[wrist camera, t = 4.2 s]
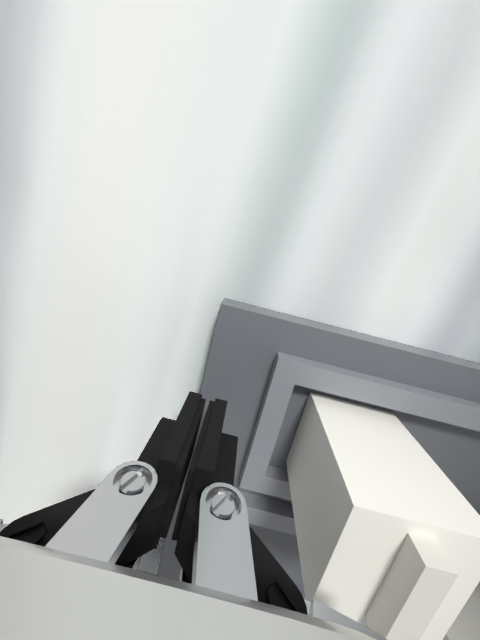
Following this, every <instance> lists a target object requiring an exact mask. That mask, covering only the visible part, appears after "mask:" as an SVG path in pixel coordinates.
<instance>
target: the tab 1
mask: <svg viewBox="0 0 480 640" xmlns="http://www.w3.org/2000/svg"><path fill="white" fill-rule="evenodd" d="M286 465H287V472H288V479H289V486H290V493H291V500H292V507H293V514H294V521H295V528H296V536H297V543H298V550H299V557H300V564H301V571H302V578H303V585H304V592H305V599H306V600H307V601H309V602H312V600H313V599H315V600H317V601H319V602H321V603H323V604H325V605H326V606H328V607H330V608H332V609H334V610H336V611H338V612H339V613H341V614H343V615H345V616H347V617H349V618H351V619H352V620H354V621H356V622H358V623H360V624H362V625H364V626H367V627H368V628H369V629H371V630H373V631H375V632H377V633H378V634H380V635H382V636H383V637H385V638H386V639H387V640H442V639H443V638H444V636H445V635H446V633H447V632H448V630H449V628H450V627H451V625H452V624H453V622H454V621H455V619H456V617H457V616H458V614H459V613H460V611H461V610H462V608H463V607H464V605H465V603H466V602H467V600H468V599H469V597H470V596H471V594H472V593H473V591H474V589H475V588H476V586H477V585H478V583H479V582H480V515H479V514H478V513H477V512H476V510H475V509H474V508H473V507H472V506H471V504H470V503H469V502H468V501H467V500H466V499H465V497H464V496H463V495H462V494H461V493H460V491H459V490H458V489H457V488H456V487H455V486H454V484H453V483H452V482H451V481H450V480H449V478H448V477H447V476H446V475H445V474H444V473H443V471H442V470H441V469H440V468H439V467H438V465H437V464H436V463H435V462H434V461H433V460H432V458H431V457H430V456H429V455H428V454H427V452H426V451H425V450H424V449H423V448H422V447H421V445H420V444H419V443H418V442H417V441H416V439H415V438H414V437H413V436H412V435H411V434H410V432H409V431H408V430H407V429H406V428H405V426H404V425H403V424H402V423H401V422H400V421H399V419H398V418H397V417H396V416H395V415H394V413H392V412H388V411H384V410H380V409H376V408H372V407H368V406H364V405H360V404H356V403H352V402H348V401H344V400H340V399H337V398H333V397H329V396H325V395H321V394H317V393H313V392H310V394H309V397H308V400H307V402H306V405H305V408H304V411H303V414H302V417H301V420H300V423H299V426H298V428H297V431H296V434H295V437H294V440H293V443H292V446H291V449H290V452H289V454H288V457H287V460H286Z"/></svg>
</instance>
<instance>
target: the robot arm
mask: <svg viewBox="0 0 480 640" xmlns="http://www.w3.org/2000/svg"><path fill="white" fill-rule="evenodd" d="M205 402H206V399H204V398H202V394H198V393H194V392H189V395H188V397H187V399H186V401H185V403H184V405H183V407H182V409H181V411H180V414H179V416H178V418H177V420H176V421H175V420H171V419H168V418H164V417H163V418H162V419H161V420H160V422H159V423H158V425H157V427H156V429H155V431H154V432H153V434H152V436H151V438H150V439H149V441H148V443H147V445H146V446H145V448H144V450H143V452H142V453H141V455H140V457H139V459H138V460H137V461H130V462H125V463H123V464H121V465H119V466H117V467H116V468H115V469H114V470H113V471H112V472H111V473H110V474H109V475H108V476H107V477H106V478H105V479H104V481H103V482H102V483H101V484H100V485H99V486H98V487H97V488H96V489H94V490H91V491H89V492H86V493H83V494H81V495H78V496H76V497H73V498H70V499H68V500H65V501H62V502H60V503H57V504H54V505H52V506H49V507H46V508H44V509H41V510H39V511H36V512H33V513H31V514H28V515H25V516H23V517H21V518H19V519H17V520H15V521H13V522H12V523H10V524H3V519H0V640H387V639H386V638H385V637H383V636H382V635H380V634H378V633H377V632H375V631H373V630H371V629H369V628H367V627H365V626H364V625H362V624H360V623H358V622H356V621H354V620H352V619H351V618H349V617H347V616H345V615H343V614H341V613H339V612H338V611H336V610H334V609H332V608H330V607H328V606H326V605H325V604H323V603H321V602H319V601H317V600H315V599H313V600H312V602H309V601H307V600H305V599H304V598H303V595H302V594H301V592H300V590H299V589H298V587H297V586H296V584H295V583H294V582H293V581H292V579H291V578H290V577H289V575H288V574H287V573H286V572H285V570H284V569H283V568H282V566H281V565H280V564H279V563H278V561H277V560H276V559H275V558H274V556H273V555H272V554H271V552H270V551H269V550H268V549H267V547H266V546H265V545H264V544H263V542H262V541H261V540H260V538H259V537H258V536H257V535H256V533H255V532H254V531H253V529H252V528H251V527H250V526H249V522H248V514H247V506H246V502H245V498H244V497H243V495H242V494H241V492H240V491H239V490H238V489H237V488H235V487H234V476H235V465H236V455H237V445H238V437H237V436H233V435H230V434H226V433H222V428H223V423H224V418H225V413H226V407H227V402H228V401H225V400H221V399H217V398H216V399H215V401H211V400H210V402H209V405H208V408H207V411H206V414H205V418H204V421H203V424H202V427H201V430H200V434H199V437H198V440H197V443H196V446H195V442H196V438H197V434H198V430H199V426H200V422H201V418H202V414H203V410H204V406H205ZM194 446H195V450H194ZM193 450H194V453H193ZM192 454H193V456H192ZM191 458H192V459H191ZM190 461H191V463H190ZM189 464H190V466H189ZM188 467H189V470H188ZM187 471H188V474H187ZM186 474H187V478H186V482H185V486H184V490H183V494H182V498H181V502H180V506H179V510H178V514H177V518H176V522H175V526H174V530H173V534H172V538H171V540H175V541H177V544H176V548H175V552H174V554H175V556H176V558H177V560H178V562H179V564H180V566H181V567H182V569H181V573H180V578H179V581H178V580H174V579H170V578H167V577H163V576H159V575H155V574H151V573H147V572H143V571H139V570H136V568H137V567H138V564H139V562H140V559H141V556H142V555H144V554H145V553H147V552H149V551H150V550H152V549H154V548H155V549H156V548H157V545H158V542H159V539H160V537H163V538H166V537H167V534H168V531H169V528H170V525H171V521H172V518H173V515H174V512H175V509H176V506H177V502H178V499H179V496H180V493H181V490H182V486H183V483H184V480H185V477H186Z"/></svg>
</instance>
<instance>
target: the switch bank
mask: <svg viewBox="0 0 480 640" xmlns="http://www.w3.org/2000/svg"><path fill="white" fill-rule="evenodd" d="M310 392H313V393H317V394H321V395H325V396H329V397H333V398H337V399H340V400H344V401H348V402H352V403H356V404H360V405H364V406H368V407H372V408H376V409H380V410H384V411H388V412H392V413H394V415H395V416H396V417H397V418H398V419H399V421H400V422H401V423H402V424H403V425H404V426H405V428H406V429H407V430H408V431H409V432H410V434H411V435H412V436H413V437H414V438H415V439H416V441H417V442H418V443H419V444H420V445H421V447H422V448H423V449H424V450H425V451H426V452H427V454H428V455H429V456H430V457H431V458H432V460H433V461H434V462H435V463H436V464H437V465H438V467H439V468H440V469H441V470H442V471H443V473H444V474H445V475H446V476H447V477H448V478H449V480H450V481H451V482H452V483H453V484H454V486H455V487H456V488H457V489H458V490H459V491H460V493H461V494H462V495H463V496H464V497H465V499H466V500H467V501H468V502H469V503H470V504H471V506H472V507H473V508H474V509H475V510H476V512H477V513H478V514H479V515H480V363H476V362H472V361H468V360H464V359H460V358H456V357H453V356H449V355H445V354H441V353H437V352H433V351H429V350H425V349H421V348H417V347H413V346H410V345H406V344H402V343H398V342H394V341H390V340H386V339H382V338H378V337H374V336H370V335H367V334H363V333H359V332H355V331H351V330H347V329H343V328H339V327H335V326H331V325H327V324H324V323H320V322H316V321H312V320H308V319H304V318H300V317H296V316H292V315H288V314H284V313H281V312H277V311H273V310H269V309H265V308H261V307H257V306H253V305H249V304H245V303H241V302H238V301H234V300H230V299H226V298H224V300H223V301H222V303H221V305H220V310H219V314H218V318H217V322H216V327H215V331H214V335H213V339H212V344H211V348H210V352H209V356H208V361H207V365H206V369H205V373H204V378H203V382H202V386H201V390H200V394H202V398H204V399H206V402H205V406H204V410H203V414H202V418H201V422H200V426H199V430H198V434H197V438H196V442H195V446H196V443H197V440H198V437H199V434H200V430H201V427H202V424H203V421H204V418H205V414H206V411H207V408H208V405H209V402H210V400H211V401H215V399H216V398H217V399H221V400H225V401H228V402H227V407H226V413H225V418H224V423H223V428H222V433H226V434H230V435H233V436H237V437H238V445H237V455H236V465H235V476H234V487H235V488H237V489H238V490H239V491H240V492H241V494H242V495H243V497H244V498H245V502H246V506H247V514H248V522H249V526H250V527H251V528H252V529H253V531H254V532H255V533H256V535H257V536H258V537H259V538H260V540H261V541H262V542H263V544H264V545H265V546H266V547H267V549H268V550H269V551H270V552H271V554H272V555H273V556H274V558H275V559H276V560H277V561H278V563H279V564H280V565H281V566H282V568H283V569H284V570H285V572H286V573H287V574H288V575H289V577H290V578H291V579H292V581H293V582H294V583H295V584H296V586H297V587H298V589H299V590H300V592H301V594H302V595H303V598H304V599H305V592H304V585H303V578H302V571H301V564H300V557H299V550H298V543H297V536H296V528H295V521H294V514H293V507H292V500H291V493H290V486H289V479H288V472H287V465H286V460H287V457H288V454H289V452H290V449H291V446H292V443H293V440H294V437H295V434H296V431H297V428H298V426H299V423H300V420H301V417H302V414H303V411H304V408H305V405H306V402H307V400H308V397H309V394H310ZM195 446H194V450H195ZM194 450H193V453H194ZM192 456H193V454H192ZM191 459H192V458H191ZM190 463H191V461H190ZM189 466H190V464H189ZM188 470H189V467H188ZM187 474H188V471H187ZM187 474H186V477H185V480H184V483H183V486H182V490H181V493H180V496H179V499H178V502H177V506H176V509H175V512H174V515H173V518H172V521H171V525H170V528H169V531H168V534H167V537H166V539H165V544H164V548H163V552H162V556H161V561H160V565H159V569H158V573H157V575H159V576H163V577H167V578H170V579H174V580H178V581H179V578H180V573H181V569H182V567H181V566H180V564H179V562H178V560H177V558H176V556H175V554H174V552H175V548H176V544H177V541H175V540H171V538H172V534H173V530H174V526H175V522H176V518H177V514H178V510H179V506H180V502H181V498H182V494H183V490H184V486H185V482H186V478H187ZM305 600H306V599H305ZM365 627H367V626H365ZM367 628H368V627H367Z"/></svg>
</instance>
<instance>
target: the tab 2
mask: <svg viewBox="0 0 480 640" xmlns="http://www.w3.org/2000/svg"><path fill="white" fill-rule="evenodd" d="M442 640H480V582H479V583H478V585H477V586H476V588H475V589H474V591H473V593H472V594H471V596H470V597H469V599H468V600H467V602H466V603H465V605H464V607H463V608H462V610H461V611H460V613H459V614H458V616H457V617H456V619H455V621H454V622H453V624H452V625H451V627H450V628H449V630H448V632H447V633H446V635H445V636H444V638H443V639H442Z"/></svg>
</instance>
